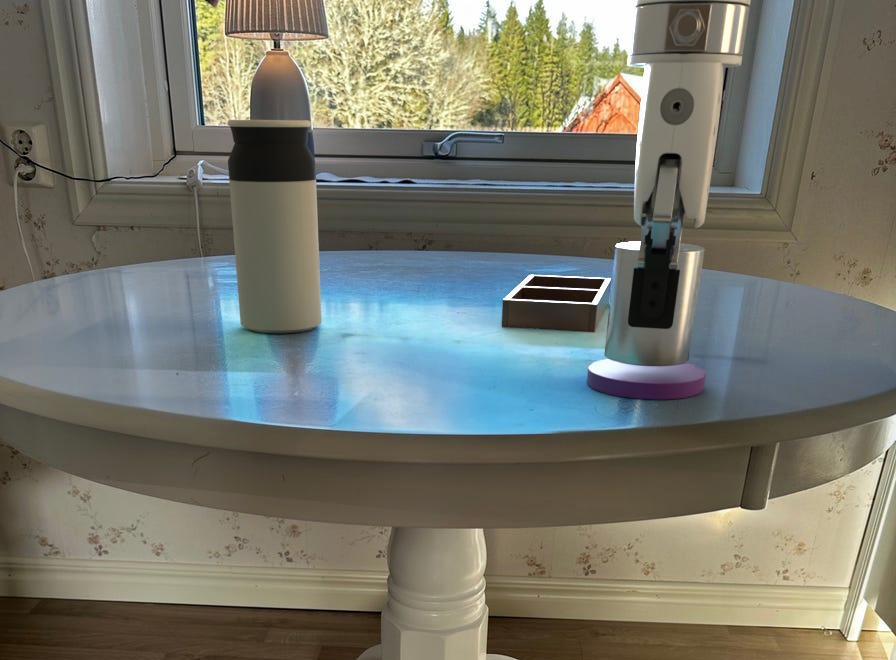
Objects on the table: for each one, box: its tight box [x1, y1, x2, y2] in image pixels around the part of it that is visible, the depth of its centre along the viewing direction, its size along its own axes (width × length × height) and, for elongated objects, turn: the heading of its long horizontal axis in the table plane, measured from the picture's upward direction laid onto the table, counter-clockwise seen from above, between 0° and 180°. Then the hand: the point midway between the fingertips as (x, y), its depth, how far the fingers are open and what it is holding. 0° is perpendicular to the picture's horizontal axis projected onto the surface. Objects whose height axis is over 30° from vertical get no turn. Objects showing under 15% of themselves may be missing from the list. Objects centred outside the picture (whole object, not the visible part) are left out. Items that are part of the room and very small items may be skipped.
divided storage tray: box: [501, 274, 612, 333], centre depth 99 cm, size 9×17×3 cm, turn 165°
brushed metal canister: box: [604, 241, 706, 366], centre depth 72 cm, size 6×6×8 cm
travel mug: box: [227, 119, 323, 334], centre depth 90 cm, size 8×8×18 cm
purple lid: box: [586, 358, 707, 401], centre depth 75 cm, size 9×9×1 cm
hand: (651, 316), depth 72 cm, fingers closed on brushed metal canister, 6 cm apart
